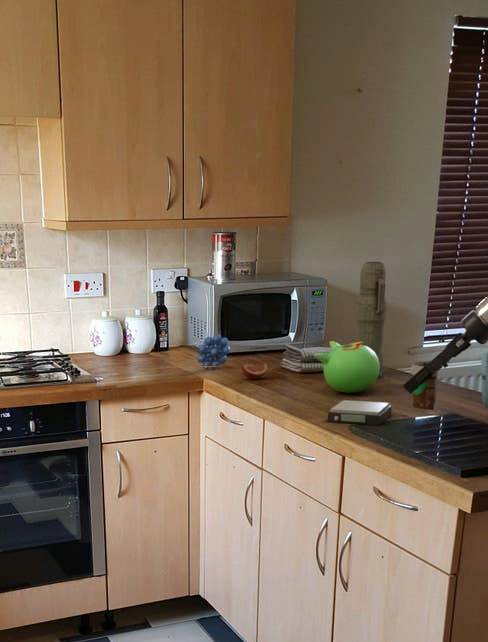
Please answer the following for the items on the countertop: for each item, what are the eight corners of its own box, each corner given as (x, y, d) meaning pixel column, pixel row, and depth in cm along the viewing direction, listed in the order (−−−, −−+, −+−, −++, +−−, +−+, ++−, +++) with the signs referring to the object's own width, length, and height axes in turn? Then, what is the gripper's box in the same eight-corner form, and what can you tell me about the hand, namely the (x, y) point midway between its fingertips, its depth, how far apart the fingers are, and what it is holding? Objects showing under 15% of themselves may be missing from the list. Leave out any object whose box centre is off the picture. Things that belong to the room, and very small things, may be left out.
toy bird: (370, 399, 244) (373, 346, 240) (311, 396, 251) (313, 344, 246) (384, 388, 260) (386, 337, 255) (328, 385, 267) (329, 336, 262)
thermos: (368, 379, 273) (374, 263, 262) (345, 374, 283) (350, 262, 272) (391, 377, 277) (397, 261, 265) (367, 372, 287) (373, 261, 276)
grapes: (227, 366, 307) (226, 331, 303) (232, 369, 300) (232, 334, 296) (194, 368, 305) (194, 333, 301) (199, 371, 298) (198, 335, 294)
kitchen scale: (378, 426, 213) (379, 413, 212) (326, 422, 219) (327, 409, 218) (391, 415, 224) (391, 402, 223) (341, 411, 230) (342, 399, 229)
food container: (409, 401, 215) (412, 360, 212) (435, 402, 213) (438, 360, 210) (405, 410, 204) (408, 366, 201) (433, 410, 202) (436, 367, 199)
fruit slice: (263, 376, 285) (263, 361, 283) (271, 379, 279) (271, 364, 277) (239, 378, 283) (239, 362, 281) (246, 381, 277) (246, 365, 275)
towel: (301, 374, 286) (301, 350, 284) (279, 366, 303) (279, 343, 300) (343, 371, 290) (344, 347, 287) (319, 363, 307) (320, 341, 304)
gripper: (489, 339, 186) (412, 405, 198) (503, 328, 207) (432, 388, 218) (466, 313, 187) (390, 381, 198) (481, 304, 208) (412, 366, 219)
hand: (412, 385), depth 208 cm, fingers closed on food container, 12 cm apart
